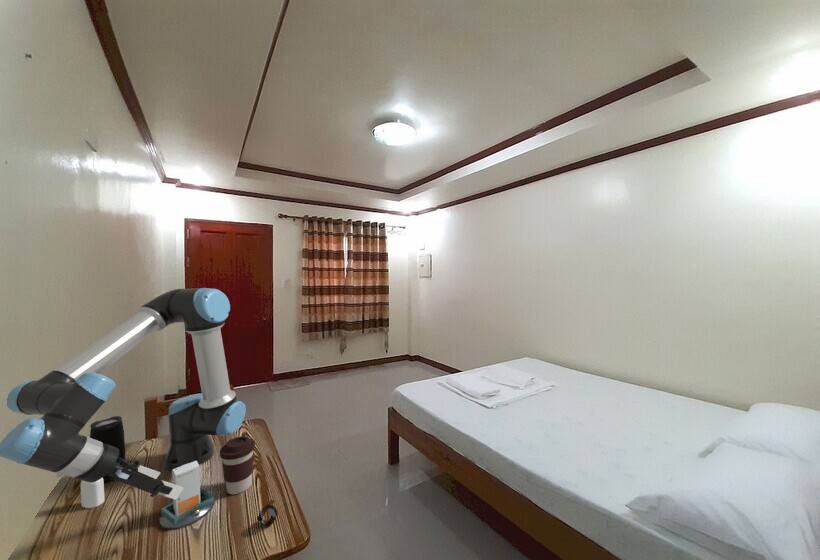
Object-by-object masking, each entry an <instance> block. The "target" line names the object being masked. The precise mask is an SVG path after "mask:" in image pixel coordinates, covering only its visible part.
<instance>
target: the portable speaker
mask: <svg viewBox="0 0 820 560" xmlns="http://www.w3.org/2000/svg"><path fill="white" fill-rule="evenodd" d="M89 433H90V434H89V438H92V439H95V440H97V441H100V442H102V443H103V444H108V445H110V446H113V447H116V448H118V449H119V457H118V458H121V459H124V460H126V442H125V440H126V439H125V430H124V423H123V418H122V416H119V415H118V416H117V415H115V416H112V417H109V418H105V419H102V420H97V421H94V422H92V423H91V424H90V430H89ZM102 478H103V481H104V482H105V481H108V480H110V479H109V478H108V476H104V477H102Z"/></svg>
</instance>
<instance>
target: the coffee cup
mask: <svg viewBox="0 0 820 560" xmlns="http://www.w3.org/2000/svg"><path fill="white" fill-rule="evenodd" d="M255 448H256V441H255V440H254V439H252V438H250V437H249V436H246V435H242V436H241V435H240V436H237V437H233V438H231V439H229V440H228V441H226V443H225V444H224V445H223V446H222V447H221V448H220V450H219V457H220V458H221V459H222V460H221V461H222V462H221V464H222V473H223V480H224V482H225V491H226V493H227V494H230V495H239V494H241V493H243V492H246V491H248V489H249V488H250V487H251V486H252V483H253V473H254V456H255V453H254V450H255Z"/></svg>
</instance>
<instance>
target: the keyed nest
mask: <svg viewBox="0 0 820 560" xmlns="http://www.w3.org/2000/svg"><path fill="white" fill-rule="evenodd" d="M215 499H216V498H215V496H214V494H212V492H211V493H210V492H207V491H206V490H204V489H202V488H201V487H200V503H199V504H197V505H196V506H194V507H192V508H190V509H189V510H187V511H185V512H184V513H182V514H180V515H179V516H177V517H176V515H175V512H174V509H173V502H171V503H169V504H168V505H166V506H164V507H162V508H161V509H160V510H161V511H160V513H161V514H160V516H159V525H160V527H161V528H162V529H164V530H169V531H170V529H171V530H172V529H173V530H179V529H182V528H186V527H188V526H192V525H194V524H195V523H196V522H198V521H200V520H202V519H203V518H205V516H207V515H208V514H209V513H211V511H212V509H213V508H214V506H215Z"/></svg>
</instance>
